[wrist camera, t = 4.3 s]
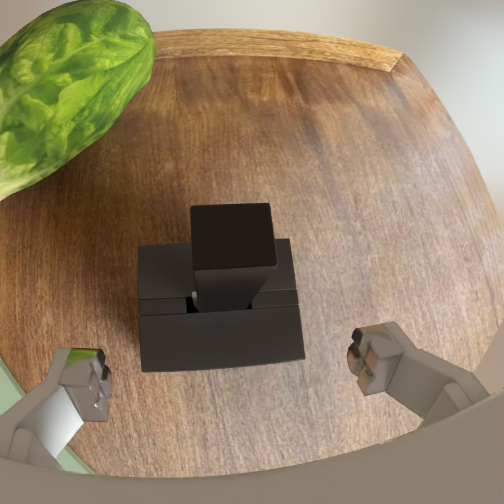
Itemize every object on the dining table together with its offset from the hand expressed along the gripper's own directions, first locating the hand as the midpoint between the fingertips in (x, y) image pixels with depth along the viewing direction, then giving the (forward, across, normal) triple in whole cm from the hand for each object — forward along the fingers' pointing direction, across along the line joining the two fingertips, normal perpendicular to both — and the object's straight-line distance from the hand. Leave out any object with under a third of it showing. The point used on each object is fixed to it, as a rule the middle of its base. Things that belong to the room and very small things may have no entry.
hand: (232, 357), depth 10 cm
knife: (+14, 0, -9) cm, 17 cm away
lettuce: (+29, -16, +4) cm, 34 cm away
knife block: (+15, 0, -10) cm, 18 cm away
